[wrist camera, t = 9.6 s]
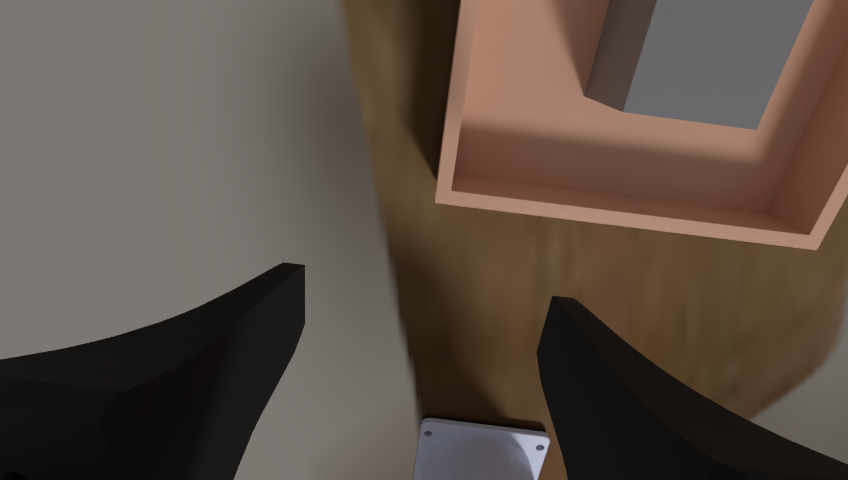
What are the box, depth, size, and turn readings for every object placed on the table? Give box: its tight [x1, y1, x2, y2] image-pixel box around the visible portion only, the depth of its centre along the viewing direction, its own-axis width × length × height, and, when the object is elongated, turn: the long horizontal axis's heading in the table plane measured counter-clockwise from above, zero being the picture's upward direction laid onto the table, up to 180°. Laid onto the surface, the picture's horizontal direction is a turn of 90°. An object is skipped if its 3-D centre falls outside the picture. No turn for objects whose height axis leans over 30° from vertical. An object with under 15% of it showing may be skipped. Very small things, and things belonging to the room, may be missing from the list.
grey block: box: [584, 0, 814, 130], centre depth 15 cm, size 4×4×4 cm
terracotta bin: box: [435, 0, 848, 250], centre depth 16 cm, size 14×16×3 cm
